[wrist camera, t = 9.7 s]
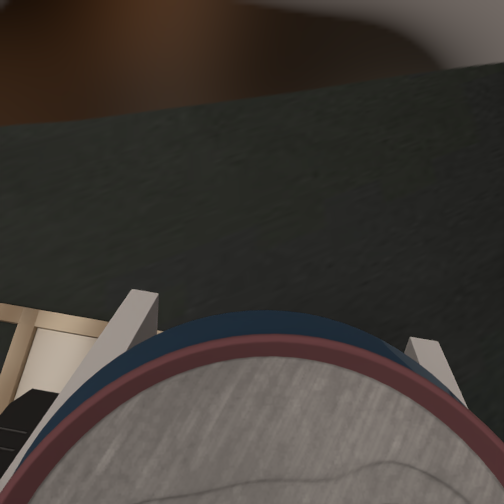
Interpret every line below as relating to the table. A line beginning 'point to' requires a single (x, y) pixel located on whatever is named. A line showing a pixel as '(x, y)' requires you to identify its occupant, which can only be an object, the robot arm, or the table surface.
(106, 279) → the table surface
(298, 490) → the soda can
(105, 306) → the table surface
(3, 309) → the tan flat wooden frame
